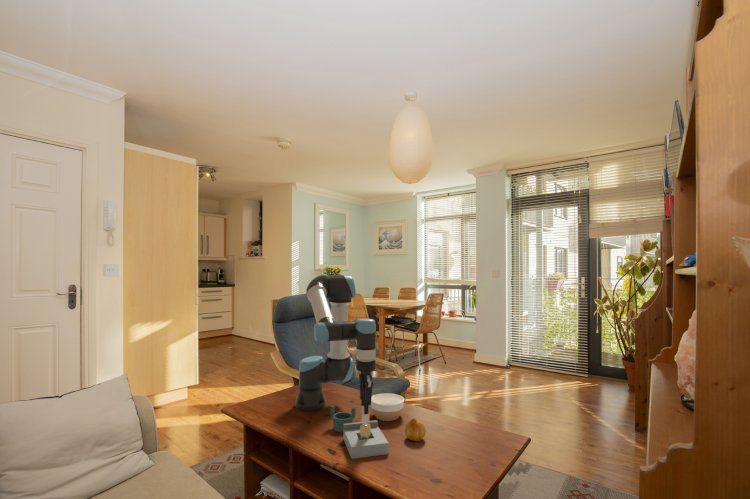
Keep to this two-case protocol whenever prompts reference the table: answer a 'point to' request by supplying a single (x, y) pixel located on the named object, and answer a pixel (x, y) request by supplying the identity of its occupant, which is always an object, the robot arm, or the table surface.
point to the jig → (364, 440)
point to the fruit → (415, 430)
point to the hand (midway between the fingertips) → (365, 421)
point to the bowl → (387, 406)
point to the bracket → (342, 418)
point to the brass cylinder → (365, 431)
